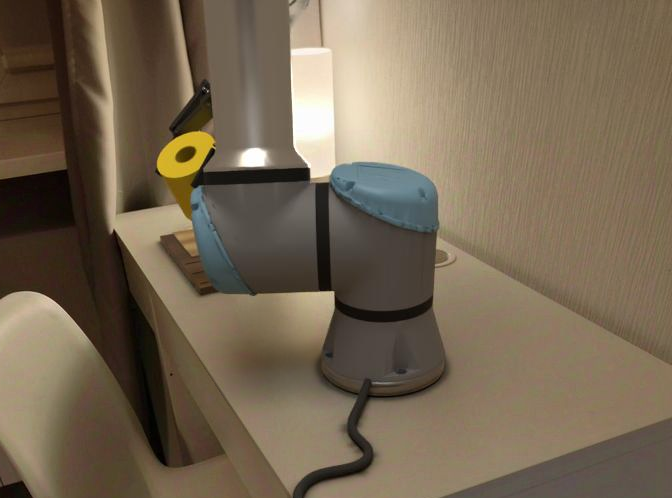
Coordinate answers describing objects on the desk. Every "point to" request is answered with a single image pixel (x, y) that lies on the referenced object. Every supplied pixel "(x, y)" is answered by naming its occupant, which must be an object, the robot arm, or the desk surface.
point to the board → (188, 258)
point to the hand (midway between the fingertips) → (179, 183)
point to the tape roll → (184, 165)
